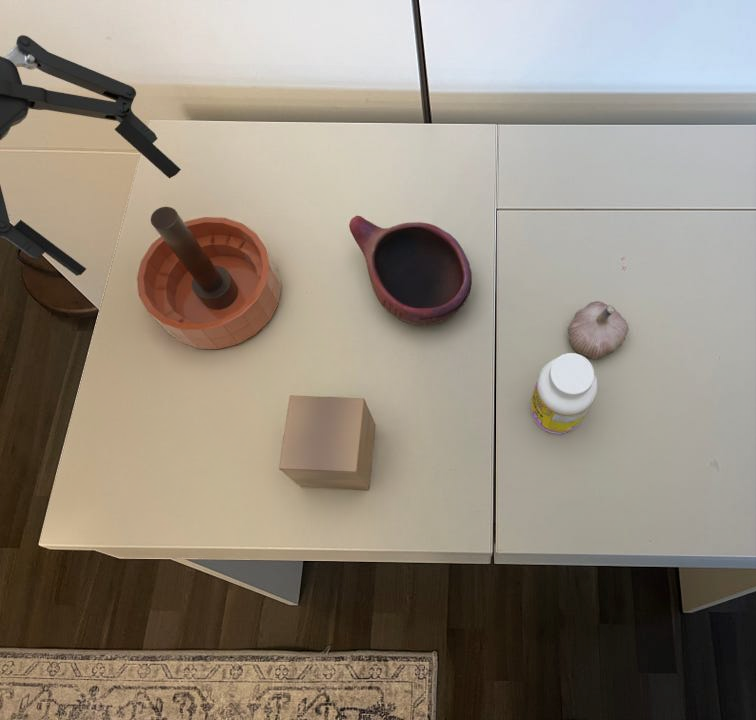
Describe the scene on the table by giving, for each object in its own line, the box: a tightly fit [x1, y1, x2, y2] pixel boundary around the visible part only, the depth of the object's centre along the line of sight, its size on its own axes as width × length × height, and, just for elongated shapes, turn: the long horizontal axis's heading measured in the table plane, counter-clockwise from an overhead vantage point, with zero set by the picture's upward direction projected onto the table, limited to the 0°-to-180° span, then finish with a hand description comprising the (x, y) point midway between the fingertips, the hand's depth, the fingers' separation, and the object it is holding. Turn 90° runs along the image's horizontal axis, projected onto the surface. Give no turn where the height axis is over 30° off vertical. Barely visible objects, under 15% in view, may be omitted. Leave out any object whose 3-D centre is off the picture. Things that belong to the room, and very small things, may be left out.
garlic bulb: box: [567, 301, 629, 360], centre depth 81 cm, size 8×7×8 cm
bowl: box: [348, 215, 473, 326], centre depth 83 cm, size 16×13×8 cm
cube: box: [278, 394, 376, 491], centre depth 74 cm, size 8×8×10 cm
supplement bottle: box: [530, 352, 598, 435], centre depth 75 cm, size 7×7×13 cm
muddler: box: [150, 206, 238, 310], centre depth 77 cm, size 5×5×17 cm
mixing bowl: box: [136, 216, 282, 350], centre depth 83 cm, size 16×16×6 cm
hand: (130, 221), depth 66 cm, fingers open, 13 cm apart
